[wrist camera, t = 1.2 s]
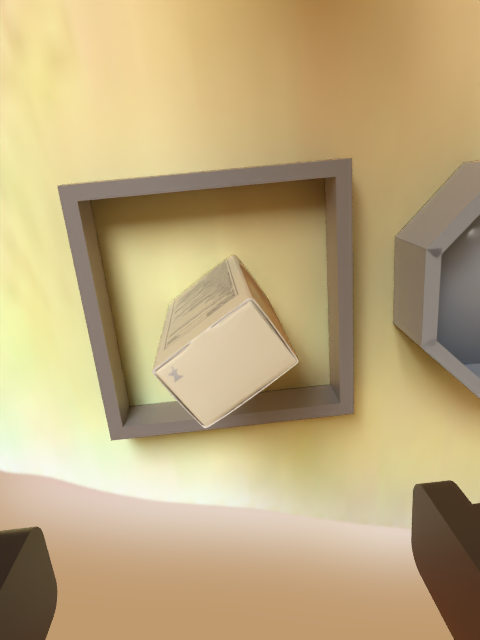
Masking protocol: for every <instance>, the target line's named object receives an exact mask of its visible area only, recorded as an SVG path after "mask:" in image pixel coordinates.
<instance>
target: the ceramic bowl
mask: <svg viewBox="0 0 480 640" xmlns="http://www.w3.org/2000/svg"><path fill="white" fill-rule="evenodd" d="M393 324H395V325H396V326H397V327H398V328H399V329H400V330H401V331H403V332H404V333H405V334H406V335H407V336H408V337H409V338H411V339H412V340H413V341H414V342H415V343H416V344H417V345H419V346H420V347H421V348H422V349H423V350H424V351H425V352H427V353H428V354H429V355H430V356H431V357H432V358H434V359H435V360H436V361H437V362H438V363H439V364H440V365H442V366H443V367H444V368H445V369H446V370H447V371H449V372H450V373H451V374H452V375H453V376H454V377H455V378H457V379H458V380H459V381H460V382H461V383H462V384H463V385H465V386H466V387H467V388H468V389H469V390H470V391H472V392H473V393H474V394H475V395H476V396H477V397H478V398H480V161H471V162H463V163H462V165H461V166H460V167H459V168H458V169H457V170H456V171H455V172H454V173H453V174H452V175H451V177H450V178H449V179H448V180H447V181H446V182H445V183H444V184H443V185H442V186H441V187H440V189H439V190H438V191H437V192H436V193H435V194H434V195H433V196H432V197H431V198H430V199H429V201H428V202H427V203H426V204H425V205H424V206H423V207H422V208H421V209H420V210H419V211H418V212H417V214H416V215H415V216H414V217H413V218H412V219H411V220H410V221H409V222H408V223H407V224H406V226H405V227H404V228H403V229H402V230H401V231H400V232H399V233H398V234H397V235H396V236H395V262H394V305H393Z"/></svg>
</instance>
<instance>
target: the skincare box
mask: <svg viewBox="0 0 480 640" xmlns="http://www.w3.org/2000/svg"><path fill="white" fill-rule="evenodd" d="M298 362H299V360H298V357H297V355H296V354H295V352H294V350H293V348H292V346H291V344H290V342H289V340H288V338H287V336H286V334H285V332H284V330H283V328H282V326H281V324H280V322H279V320H278V318H277V316H276V314H275V312H274V310H273V308H272V306H271V304H270V302H269V300H268V298H267V296H266V295H265V294H264V292H263V291H262V289H261V288H260V286H259V285H258V284H257V282H256V281H255V280H254V278H253V277H252V275H251V274H250V273H249V271H248V270H247V269H246V268H245V266H244V265H243V264H242V262H241V261H240V260H239V258H238V257H237V256H236V255H231V256H230V257H229V258H227V259H226V260H224V261H223V262H221V263H220V264H219V265H217V266H216V267H215V268H213V269H212V270H211V271H209V272H208V273H207V274H205V275H204V276H203V277H202V278H200V279H199V280H198V281H196V282H195V283H194V284H193V285H191V286H190V287H189V288H187V289H186V290H185V291H184V292H183V293H181V294H180V295H179V296H178V297H177V298H175V299H174V300H173V301H172V302H171V303H170V304H169V307H168V311H167V315H166V319H165V323H164V327H163V331H162V335H161V339H160V343H159V346H158V350H157V354H156V358H155V362H154V366H153V370H152V373H153V374H154V375H155V376H156V378H157V379H158V380H159V381H160V382H161V383H162V385H163V386H164V387H165V388H166V389H167V390H168V391H169V392H170V393H171V395H172V396H173V397H174V398H175V399H176V400H177V401H178V402H179V403H180V404H181V406H182V407H183V408H184V409H185V410H186V411H187V412H188V413H189V414H190V415H191V416H192V417H193V418H194V419H195V420H196V421H197V422H198V423H199V424H200V425H201V426H202V427H203V428H208V427H210V426H211V425H213V424H214V423H216V422H218V421H219V420H221V419H222V418H224V417H225V416H227V415H228V414H230V413H231V412H233V411H234V410H236V409H237V408H238V407H240V406H241V405H243V404H244V403H245V402H247V401H248V400H250V399H251V398H252V397H254V396H255V395H256V394H258V393H259V392H261V391H262V390H263V389H265V388H266V387H267V386H269V385H270V384H271V383H273V382H274V381H276V380H277V379H278V378H279V377H281V376H282V375H283V374H285V373H286V372H287V371H288V370H290V369H291V368H292V367H294V366H295V365H296V364H298Z"/></svg>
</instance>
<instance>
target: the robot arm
mask: <svg viewBox="0 0 480 640" xmlns="http://www.w3.org/2000/svg"><path fill="white" fill-rule="evenodd" d="M411 540H412V550H413V555H414V559H415V562H416V566H417V568H418V570H419V573H420V575H421V577H422V579H423V581H424V582H425V585H426V586H427V588H428V590H429V592H430V594H431V596H432V598H433V600H434V602H435V604H436V606H437V607H438V609H439V611H440V613H441V615H442V617H443V619H444V621H445V623H446V625H447V626H448V629H449V630H450V632H451V634H452V636H453V638H454V640H480V503H478V504H472V503H471V502H470V501H469V500H468V498H467V497H466V496H465V495H464V493H463V492H462V491H461V490H460V488H459V487H458V486H457V485H456V484H455V483H454V482H453V481H441V482H432V483H423V484H416V485H415V486H414V489H413V508H412V539H411ZM56 602H57V583H56V579H55V575H54V572H53V568H52V564H51V561H50V557H49V553H48V550H47V546H46V543H45V539H44V535H43V532H42V530H41V529H40V528H39V527H30V528H22V529H12V530H4V531H0V640H45V639H46V636H47V633H48V631H49V628H50V625H51V622H52V620H53V617H54V613H55V609H56Z"/></svg>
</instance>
